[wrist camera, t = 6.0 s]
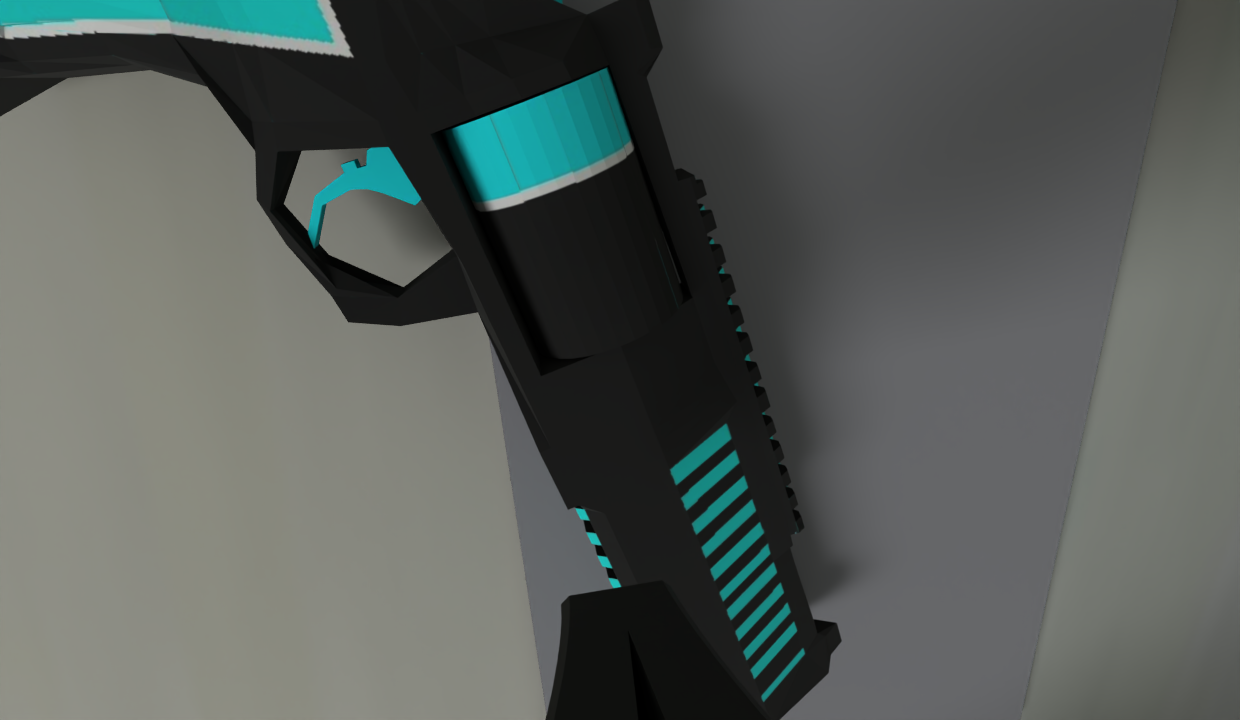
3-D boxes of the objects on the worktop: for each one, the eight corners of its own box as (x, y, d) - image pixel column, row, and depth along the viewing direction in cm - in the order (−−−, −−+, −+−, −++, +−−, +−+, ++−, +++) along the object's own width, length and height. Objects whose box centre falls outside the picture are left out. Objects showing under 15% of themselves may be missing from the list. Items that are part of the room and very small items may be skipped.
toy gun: (451, 861, 15) (874, 702, 15) (-403, -218, 7) (517, -589, 7) (462, 741, 18) (819, 605, 18) (-140, -133, 10) (518, -395, 9)
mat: (1012, 714, 21) (1019, 723, 20) (561, 807, 19) (562, 817, 19) (1224, -286, 12) (1241, -295, 11) (396, -280, 10) (393, -291, 10)
